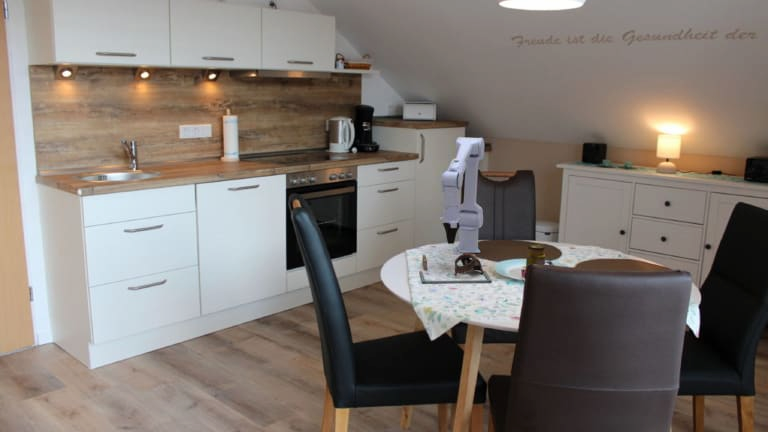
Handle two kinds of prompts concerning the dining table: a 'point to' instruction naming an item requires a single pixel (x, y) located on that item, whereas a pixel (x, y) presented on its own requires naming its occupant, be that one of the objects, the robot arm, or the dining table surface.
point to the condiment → (535, 255)
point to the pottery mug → (467, 264)
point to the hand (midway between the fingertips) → (450, 243)
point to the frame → (457, 281)
